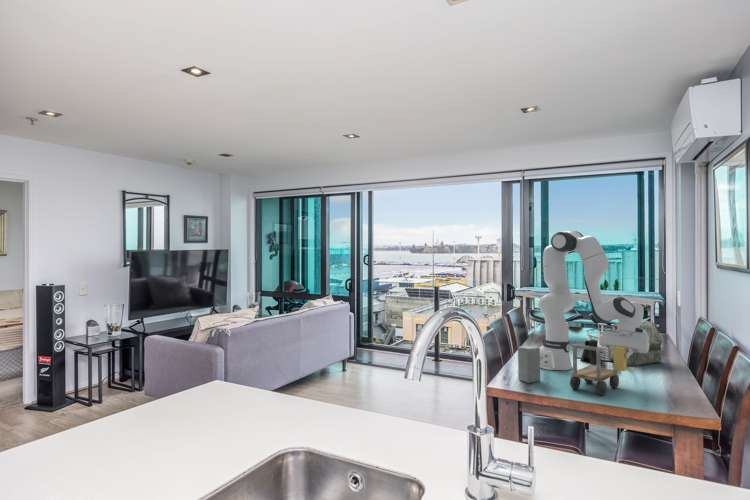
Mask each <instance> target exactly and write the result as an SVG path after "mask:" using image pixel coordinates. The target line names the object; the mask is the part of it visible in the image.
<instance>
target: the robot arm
mask: <svg viewBox="0 0 750 500" xmlns="http://www.w3.org/2000/svg"><path fill="white" fill-rule="evenodd" d="M572 253H577V254H578V255H579V258H580V260H581V262H582V265H583V269H584V274H583V281H584V285H585V288H586V292H587V296H588V300H589V303H590V305H591V306H590V309H591V314H592V317H593V318H594V320H596V321H597V322H599V323H600V324H607V323H610V322H612V321H614V320H618V323H619V324H618V327H617V330H616V331H612V330H611V329H606V330H603V331H602V334H601V336H600V339H599V341H598V343H599V346H600V348H605V349H608V348H611V351H612V352H611V356H614V353H613V347H616V346H619V347H626V351H629V352H627V353H625V354H624V358H626V359H628V358H629V356H630V355H631V354H633V352H639V353H647V352H648V351H649V336H648V334H647V332H646V330H644V329H641V328H639V326H640V325H641V323H642V322H643V319H644V307H643V306H642V304H640V303H639V302H638V301H635V300H628V299H627V298H625V297H623V296H614V297H612V298H609V299H606V300H604V299H603V296H602V292H601V289H600V280H601V278H602V277H603V276H604V275H605V274H606V272H607V271H608V270H609V266H610V261H609V258H608V256H607V254H606V252H605V250H604V248H603V246H602V245H601V244H600V242H599V240H598V239H597V238H596V237H595V236H593V235H585V236H584V235H583V234H582V233H581V232H579V231H578V230H576V231H575V230H570V229H568V230H559V231H556V232H555V233H554V234H553V235H552V236H551V239H550V244H549V245H548V246H546V247H545V248H544V250H543V253H542V268H543V270H542V271H543V272H542V273H543V281H544V283H545V284H546V285H547V288H548V291H549V293H546V294H545V295H543V296H541V297H540V298H539V300H538V304H537V305H538V309H539V310H540V312H541V313H542V315H543V318H544V322H545V323H544V324H545V339H542V340H541V342H540V343H541V344H542V345H541V346H540V347H539V348H540V369H544V370H546V371H547V370H548V371H569V370H573V364H572V362H571V361H572V360H571V355H570V351H571V346H570V343H571V342H570V340H569V339H570V333H569V332H570V325H569V324H568V323H567V321H566V318H565V313H568V312H569V311H571V310H572V309H573V308H574V307H575V305H576V300H575V299H576V298H575V297H574V295H573V294H572V293H571V289H570V286H569V284H568V278H567V266H566V265H567V264H566V256H567V255H570V254H572Z"/></svg>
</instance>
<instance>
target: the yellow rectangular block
mask: <svg viewBox="0 0 750 500" xmlns="http://www.w3.org/2000/svg"><path fill="white" fill-rule="evenodd" d="M613 353H614V361H613V370H617V371H620V372H625V371H626V370H628V365H627V359H626V358H624V354H625V353H626V347H619V346H616V347H613Z"/></svg>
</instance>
